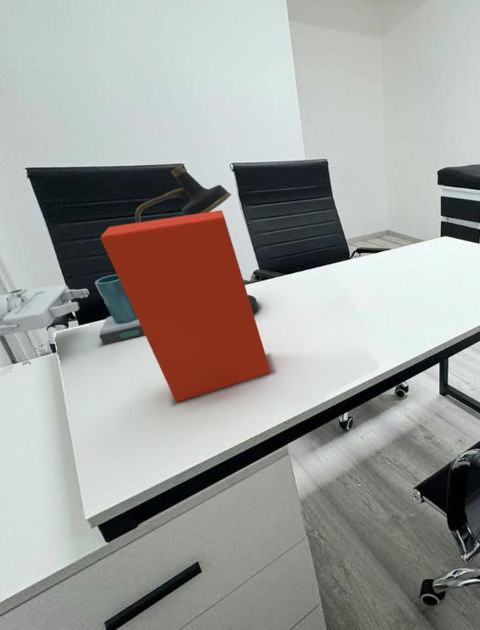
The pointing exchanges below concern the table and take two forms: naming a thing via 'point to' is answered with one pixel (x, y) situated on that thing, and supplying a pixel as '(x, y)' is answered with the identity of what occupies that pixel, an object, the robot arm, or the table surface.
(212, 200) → the lamp
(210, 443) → the table surface
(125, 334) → the scale
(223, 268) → the file binder
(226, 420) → the table surface
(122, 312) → the cup
